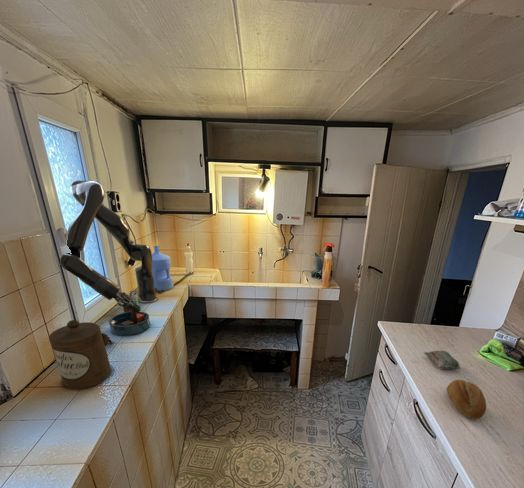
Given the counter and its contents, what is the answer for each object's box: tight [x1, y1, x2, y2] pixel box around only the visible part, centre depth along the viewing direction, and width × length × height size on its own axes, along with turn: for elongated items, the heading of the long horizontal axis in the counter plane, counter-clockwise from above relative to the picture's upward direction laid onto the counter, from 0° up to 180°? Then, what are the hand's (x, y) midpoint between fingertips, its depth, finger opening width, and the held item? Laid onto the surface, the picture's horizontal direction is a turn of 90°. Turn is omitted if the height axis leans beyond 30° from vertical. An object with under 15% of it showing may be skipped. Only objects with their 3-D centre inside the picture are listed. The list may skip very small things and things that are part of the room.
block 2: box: [137, 314, 145, 323], centre depth 139 cm, size 4×4×4 cm
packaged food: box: [423, 350, 462, 370], centre depth 113 cm, size 9×12×5 cm
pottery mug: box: [101, 332, 113, 348], centre depth 118 cm, size 12×10×8 cm
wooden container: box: [48, 319, 112, 390], centre depth 97 cm, size 15×15×22 cm
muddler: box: [131, 303, 139, 324], centre depth 134 cm, size 4×4×11 cm
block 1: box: [121, 321, 134, 326], centre depth 132 cm, size 4×4×4 cm
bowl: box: [108, 310, 151, 336], centre depth 136 cm, size 18×18×5 cm
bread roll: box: [446, 379, 487, 420], centre depth 90 cm, size 10×15×8 cm, turn 168°
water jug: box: [152, 245, 175, 292], centre depth 186 cm, size 16×16×28 cm
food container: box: [122, 290, 140, 313], centre depth 153 cm, size 12×6×10 cm, turn 179°
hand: (139, 310), depth 134 cm, fingers closed on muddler, 2 cm apart
